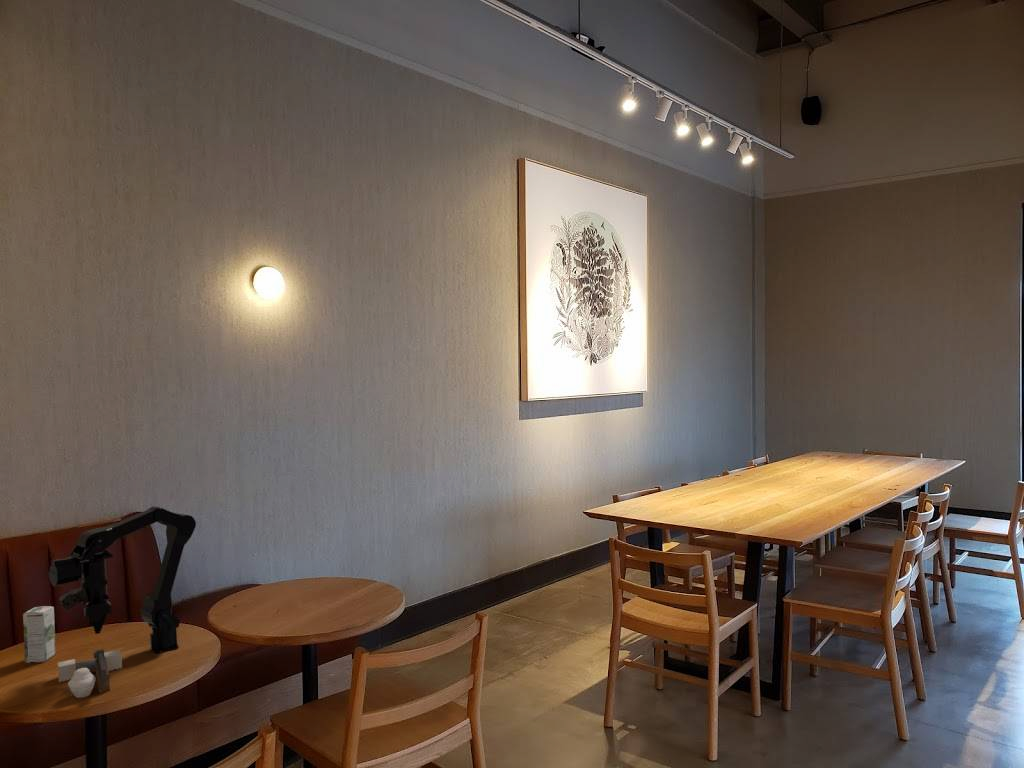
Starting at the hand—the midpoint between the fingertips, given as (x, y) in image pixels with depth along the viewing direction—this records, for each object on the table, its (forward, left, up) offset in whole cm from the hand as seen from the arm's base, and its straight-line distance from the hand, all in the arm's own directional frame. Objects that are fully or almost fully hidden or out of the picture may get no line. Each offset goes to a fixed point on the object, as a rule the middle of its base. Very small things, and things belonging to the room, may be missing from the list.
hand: (97, 633), depth 207 cm
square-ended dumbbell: (+2, +1, -10) cm, 10 cm away
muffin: (+5, +17, -10) cm, 20 cm away
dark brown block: (0, +7, -10) cm, 12 cm away
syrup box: (+14, -20, -10) cm, 26 cm away
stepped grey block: (0, +12, -5) cm, 14 cm away
